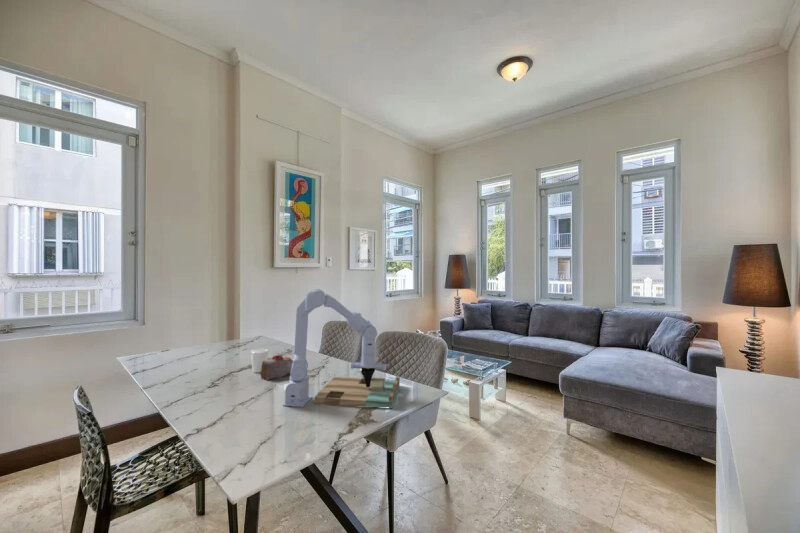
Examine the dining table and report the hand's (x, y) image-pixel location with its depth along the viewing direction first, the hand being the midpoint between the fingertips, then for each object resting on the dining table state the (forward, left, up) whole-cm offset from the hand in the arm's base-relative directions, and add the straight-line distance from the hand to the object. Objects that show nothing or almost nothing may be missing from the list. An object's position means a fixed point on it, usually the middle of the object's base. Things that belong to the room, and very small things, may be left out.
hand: (368, 386), depth 134 cm
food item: (+16, +48, -4) cm, 50 cm away
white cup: (+22, +60, -4) cm, 64 cm away
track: (0, +3, -3) cm, 5 cm away
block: (0, -4, -1) cm, 4 cm away
